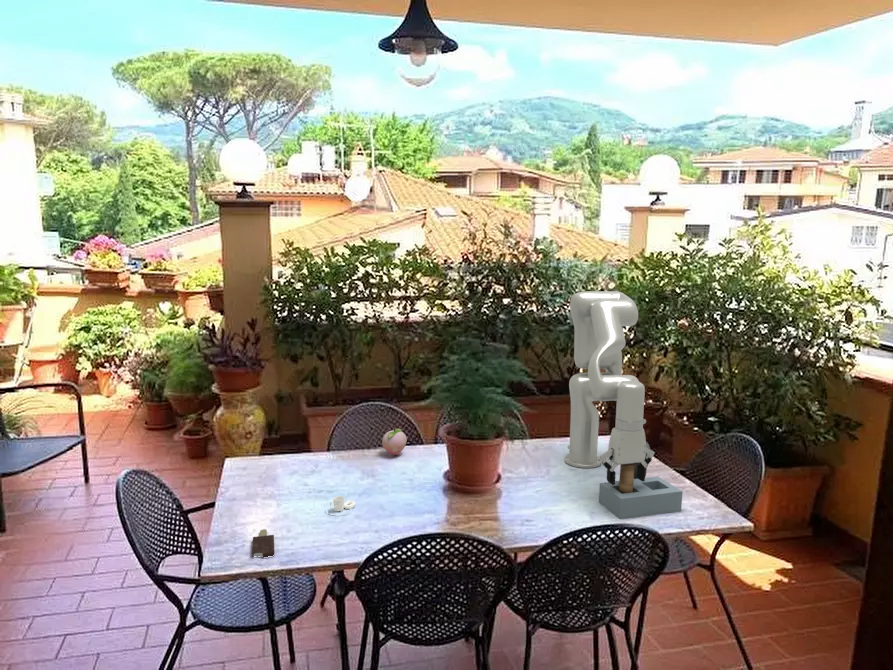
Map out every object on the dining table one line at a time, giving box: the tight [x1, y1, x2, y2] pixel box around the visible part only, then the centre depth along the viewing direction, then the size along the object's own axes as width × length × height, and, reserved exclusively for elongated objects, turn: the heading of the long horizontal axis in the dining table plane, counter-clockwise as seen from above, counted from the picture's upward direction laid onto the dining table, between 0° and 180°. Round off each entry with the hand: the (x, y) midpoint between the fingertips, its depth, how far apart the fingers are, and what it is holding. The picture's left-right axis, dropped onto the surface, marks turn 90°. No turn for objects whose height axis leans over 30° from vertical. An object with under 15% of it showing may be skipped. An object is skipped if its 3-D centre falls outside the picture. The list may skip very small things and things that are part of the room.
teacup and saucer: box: [329, 495, 356, 512], centre depth 192 cm, size 9×8×4 cm
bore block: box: [598, 475, 684, 520], centre depth 196 cm, size 12×20×6 cm, turn 107°
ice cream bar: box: [251, 528, 275, 557], centre depth 171 cm, size 5×2×15 cm
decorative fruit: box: [381, 427, 408, 456], centre depth 237 cm, size 9×8×10 cm
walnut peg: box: [618, 463, 635, 494], centre depth 194 cm, size 4×4×12 cm
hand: (625, 481), depth 194 cm, fingers open, 9 cm apart
